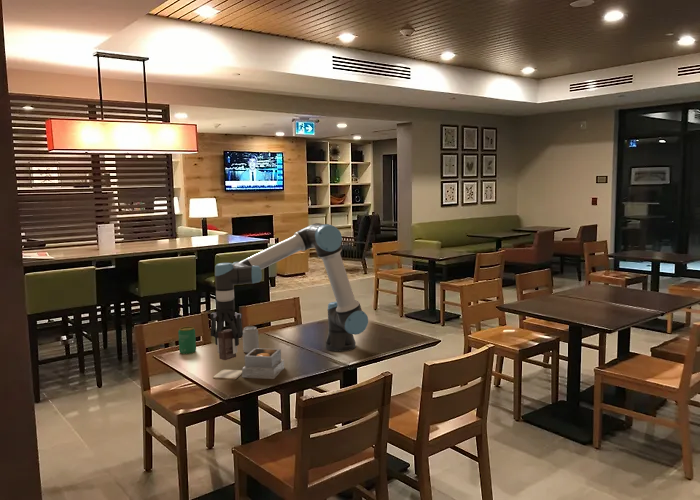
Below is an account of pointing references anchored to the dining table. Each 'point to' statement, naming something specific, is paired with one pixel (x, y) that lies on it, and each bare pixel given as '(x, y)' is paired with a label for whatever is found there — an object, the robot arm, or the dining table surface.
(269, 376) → the box
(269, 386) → the dining table surface
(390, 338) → the dining table surface
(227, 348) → the box
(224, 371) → the coaster
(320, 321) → the dining table surface
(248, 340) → the can
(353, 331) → the robot arm
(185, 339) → the beverage can
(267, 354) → the plunger
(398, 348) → the dining table surface
